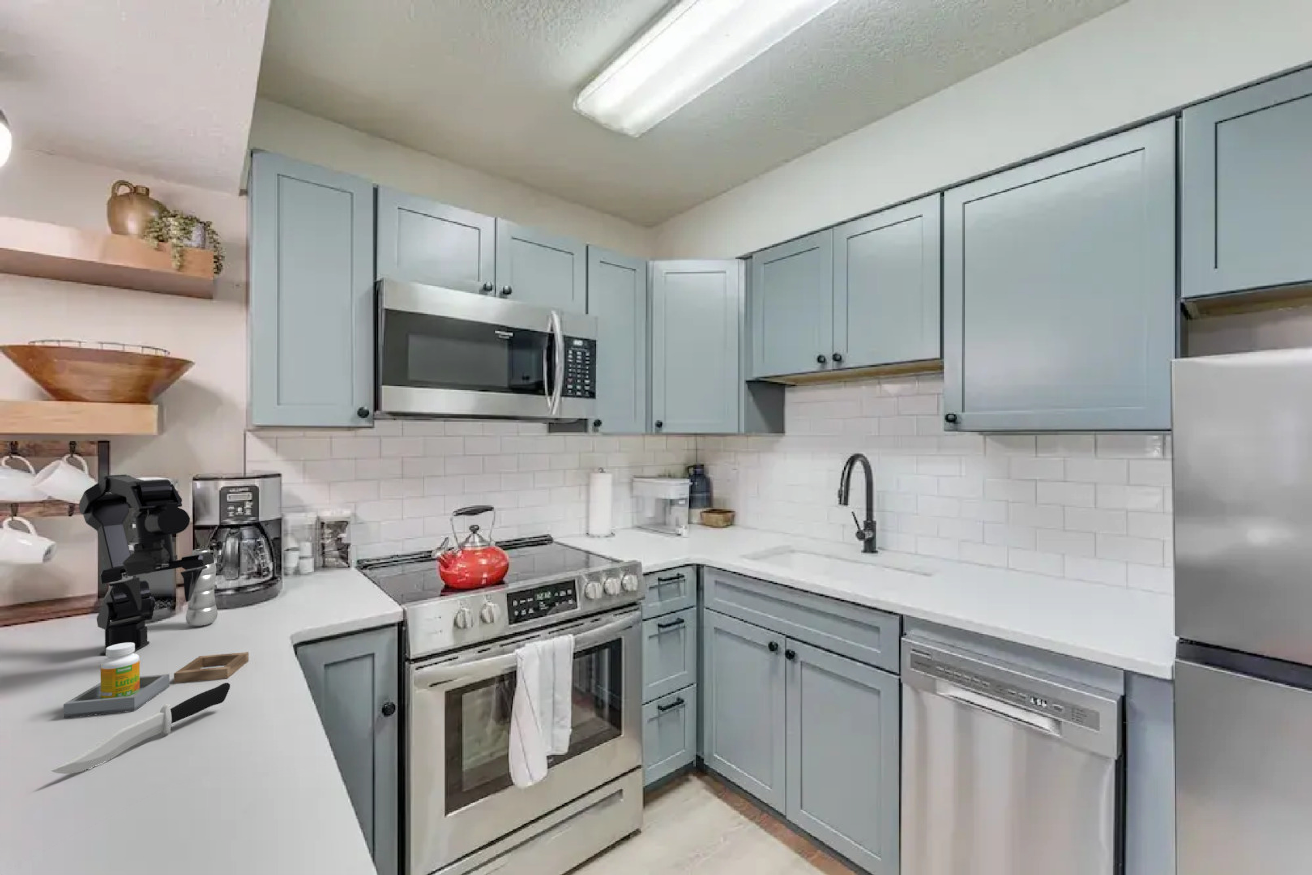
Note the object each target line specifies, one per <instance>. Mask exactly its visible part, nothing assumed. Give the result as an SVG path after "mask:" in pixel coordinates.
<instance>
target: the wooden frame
mask: <svg viewBox="0 0 1312 875" xmlns="http://www.w3.org/2000/svg"><path fill="white" fill-rule="evenodd" d="M249 655H250V653H249V652H248V651H247V652H246V651H245V652H236V653H234V652H231V653H222V654H211V655H199V656H198V657H195V659H193V660H192V661H191V662H189V663H186V665H184V666H182V667H181V668H180V669H178V670H176V671H175V672H174V673H173V684H180V683H181V684H183V683H193V682H204V681H215V680H216V681H217V680H223V679H227V680H228V679H229V678H230V677H231V676H232V675H234V673H236V672H238V671H239V669H241V668H242V667H243V666H244V664H245V665H246V664H247V663H248V662H249V658H250V657H249ZM218 665H220V666H221V667H218ZM216 666H217V667H216ZM207 667H210V668H207Z"/></svg>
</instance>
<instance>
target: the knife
mask: <svg viewBox="0 0 1312 875" xmlns="http://www.w3.org/2000/svg"><path fill="white" fill-rule="evenodd" d="M230 688H231V684H230V683H229V682H223V683H222V684H219V685H217V686H215V687H214V688H211V689H208V690H205V691H203V692H200V693H198V694H196V695H194V696H192V697H190V698H188V699H186V700H184V701H181V703H178V704H177V705H175V706H173V707H171V704H170V703H169V704H168V703H166V704H164V705H163V706H162V707H161V708H160V711H159V712H158V713H155V714H152V715H150V716H148V717H146V718H143V719H141V720H139V721H136V722H134V723H133V724H130V725H128V726H124V727H123V728H121V729H119V730H117V731H115V732H114V733H112V734H111V735H109V736H107V737H106V738H105V739H104V740H102V741H101V742H100V743H98V744H96V745H95V746H93V747H92V748H89V750H86V751H85V752H82V753H81V754H80V755H78V756H76V757H74V758H72V759H70V760H68V761H67V762H64V763H62V764H61V765H59V766H57V767H55V768H53V769H51V770H50V771H51V772H53V773H56V774H63V775H65V774H75V773H80V772H84V771H83V770H85V771H87V770H86V769H88V770H90V769H89V768H91V767H93V766H95V765H98V764H100V763H103V762H104V761H107V762H109V761H111V760H112V759H113V758H116V756H118V755H120V754H122V753H123V752H125V751H126V750H128V749H129V748H132V746H135V745H137V744H139V743H140V742H142V741H145V740H147V739H149V738H150V737H153V736H155V735H157V734H159V733H163V734H166V735H168V734H171V727H172V724H174V723H176V722H179V721H181V720H184V719H186V718H188V717H191V716H193V715H195V714H197V713H200V712H202V711H204V710H206V709H209V708H210V707H213V706H216V705H219V704H222V703H224V701H225V700H226V697H227V696H228V693H229V690H230ZM110 759H111V760H110ZM108 760H109V761H108ZM103 764H104V763H103Z"/></svg>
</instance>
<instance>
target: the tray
mask: <svg viewBox="0 0 1312 875" xmlns="http://www.w3.org/2000/svg"><path fill="white" fill-rule="evenodd" d="M170 677H171V676H170V673H164V674H154V675H152V674H151V675H143V676H142V675H140V691H139V692H137V693H136V694H134V695H133V696H126V697H115V698H105V699H101V682H99V683H97V684H95V685H94V686H92V687H90V688H89V689H86V691H84V692H82V693H80V694H79V695H77V696H75V697H73V698H71V699H70V700H68V701H66V702H65V703H63V719H67V718H80V716H81V717H89V716H88V715H91V716H99V714H101V715H107V714H108V715H111V714H119V713H118V712H121V713H126V712H125V711H131V712H134V711H133V710H135V711H137V710H138V709H140V708H141V707H143V706H144V705H145V704H147V703H148V702H150V701H152V698H153V697H154V698H155V697H157V696H158V695H159V693H160V694H161V693H162V692H164V691H165V690H167V689H168V688H169V687H170V686H171V685H170V684H171V683H170V681H171V680H170ZM156 695H157V696H156ZM154 698H153V699H154ZM147 701H148V702H147ZM146 702H147V703H146ZM140 706H141V707H140ZM139 707H140V708H139ZM95 714H97V715H95Z"/></svg>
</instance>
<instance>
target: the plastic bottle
mask: <svg viewBox="0 0 1312 875" xmlns="http://www.w3.org/2000/svg"><path fill="white" fill-rule="evenodd" d="M191 552H192V553H191V555H192V554H199V553H205V552H209V553H211V549H210V548H199V549H192V551H191ZM206 566H207V568H206V569H203V570H202V572H201V574H200V576H199V578H198V580H197V583H196V585H195V588H194V591H193V594H192V597H191V600H190V601H188V602H187V610H186V615H185V620H186V624H187V625H188V626H189V627H203V625H204V626H207V625H210V624H212V623H214V622H215V621H216V620H217V618H218V614H219V613H218V608H217V605H216V598H215V584H216V583H215V581H216V576H217V566H216V564H215V563H212V564H209V565H206Z"/></svg>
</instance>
